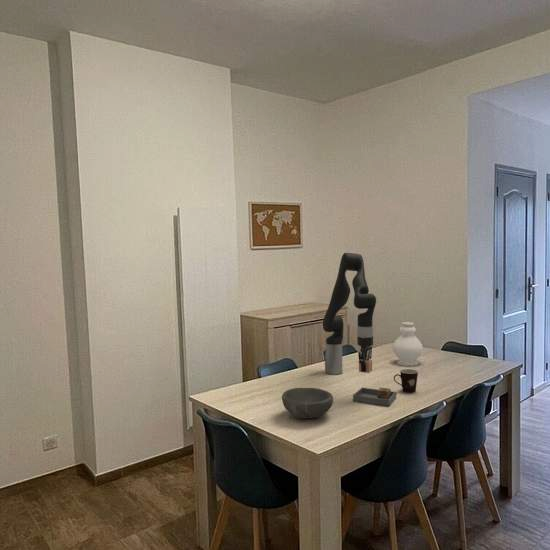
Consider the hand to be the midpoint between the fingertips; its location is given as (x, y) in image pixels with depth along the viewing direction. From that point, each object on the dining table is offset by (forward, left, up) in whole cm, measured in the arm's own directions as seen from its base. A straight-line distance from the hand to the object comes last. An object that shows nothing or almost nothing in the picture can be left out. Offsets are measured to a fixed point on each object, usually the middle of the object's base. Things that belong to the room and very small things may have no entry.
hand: (365, 370), depth 233 cm
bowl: (-16, -33, -14) cm, 39 cm away
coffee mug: (+14, +20, -14) cm, 28 cm away
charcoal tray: (+4, 0, -14) cm, 15 cm away
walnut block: (+9, 0, -13) cm, 16 cm away
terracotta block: (0, 0, 0) cm, 0 cm away
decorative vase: (+2, +74, -14) cm, 75 cm away
